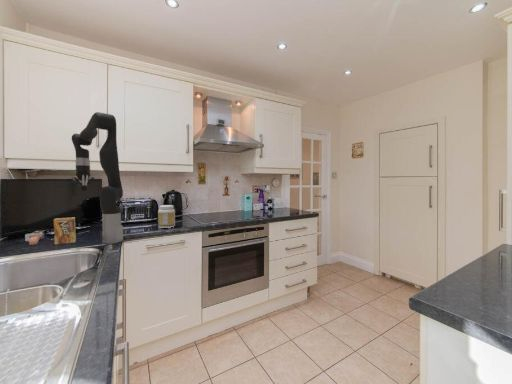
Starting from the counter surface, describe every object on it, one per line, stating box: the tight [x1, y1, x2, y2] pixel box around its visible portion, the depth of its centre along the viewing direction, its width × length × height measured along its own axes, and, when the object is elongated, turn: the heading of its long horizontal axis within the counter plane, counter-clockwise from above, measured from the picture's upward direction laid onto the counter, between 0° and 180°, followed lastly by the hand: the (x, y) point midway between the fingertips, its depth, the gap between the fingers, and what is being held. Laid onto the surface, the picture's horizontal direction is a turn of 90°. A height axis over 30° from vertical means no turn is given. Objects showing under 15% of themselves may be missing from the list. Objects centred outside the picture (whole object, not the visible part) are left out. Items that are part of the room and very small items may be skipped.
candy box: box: [53, 216, 77, 246], centre depth 128 cm, size 9×4×15 cm, turn 122°
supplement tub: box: [157, 204, 176, 229], centre depth 177 cm, size 12×12×17 cm
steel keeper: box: [24, 230, 44, 242], centre depth 135 cm, size 10×11×4 cm
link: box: [28, 231, 43, 246], centre depth 132 cm, size 22×5×3 cm, turn 39°
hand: (83, 191), depth 151 cm, fingers closed
